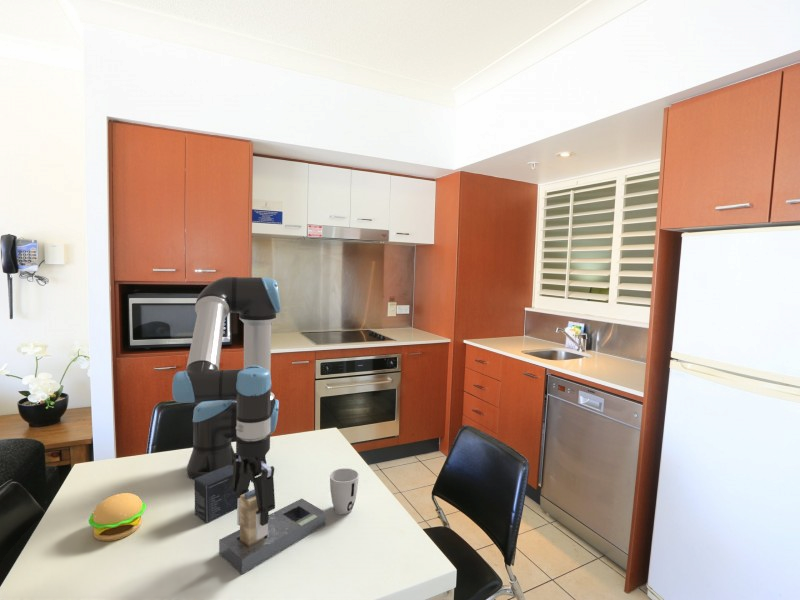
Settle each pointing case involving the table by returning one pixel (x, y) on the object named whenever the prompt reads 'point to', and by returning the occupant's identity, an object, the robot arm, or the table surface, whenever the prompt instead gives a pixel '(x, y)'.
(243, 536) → the plug
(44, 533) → the table surface
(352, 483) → the cup
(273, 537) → the panel
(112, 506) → the toy hamburger
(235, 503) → the box
